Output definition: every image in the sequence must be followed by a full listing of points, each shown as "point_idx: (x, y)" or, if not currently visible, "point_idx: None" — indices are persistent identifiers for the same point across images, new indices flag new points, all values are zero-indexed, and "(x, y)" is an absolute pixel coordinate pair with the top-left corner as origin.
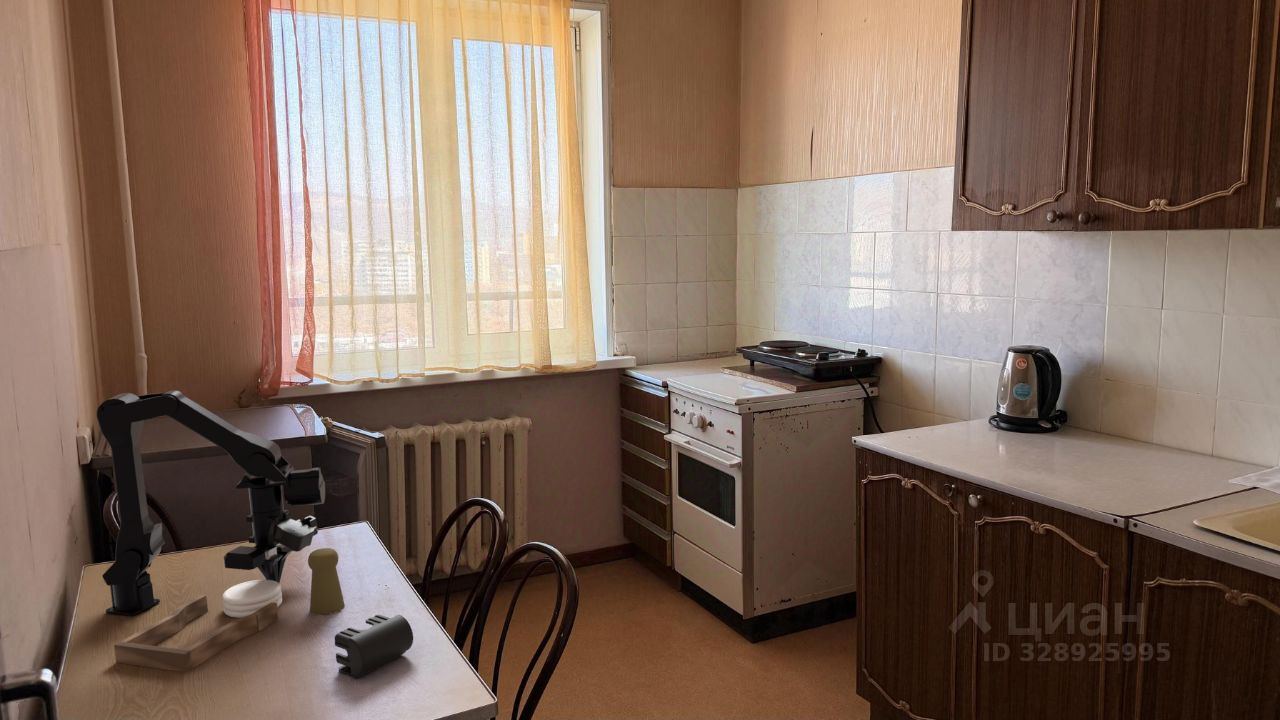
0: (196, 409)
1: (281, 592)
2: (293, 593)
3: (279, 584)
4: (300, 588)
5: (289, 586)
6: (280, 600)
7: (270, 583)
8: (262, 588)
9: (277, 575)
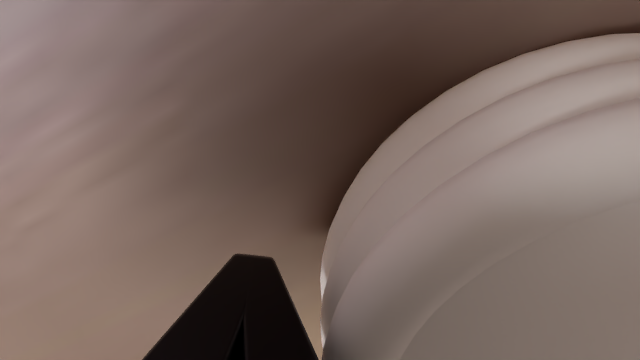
0: None
1: (515, 112)
2: (226, 68)
3: (517, 199)
4: (81, 61)
5: (74, 196)
6: (589, 56)
7: (454, 321)
8: (623, 332)
9: (265, 353)
